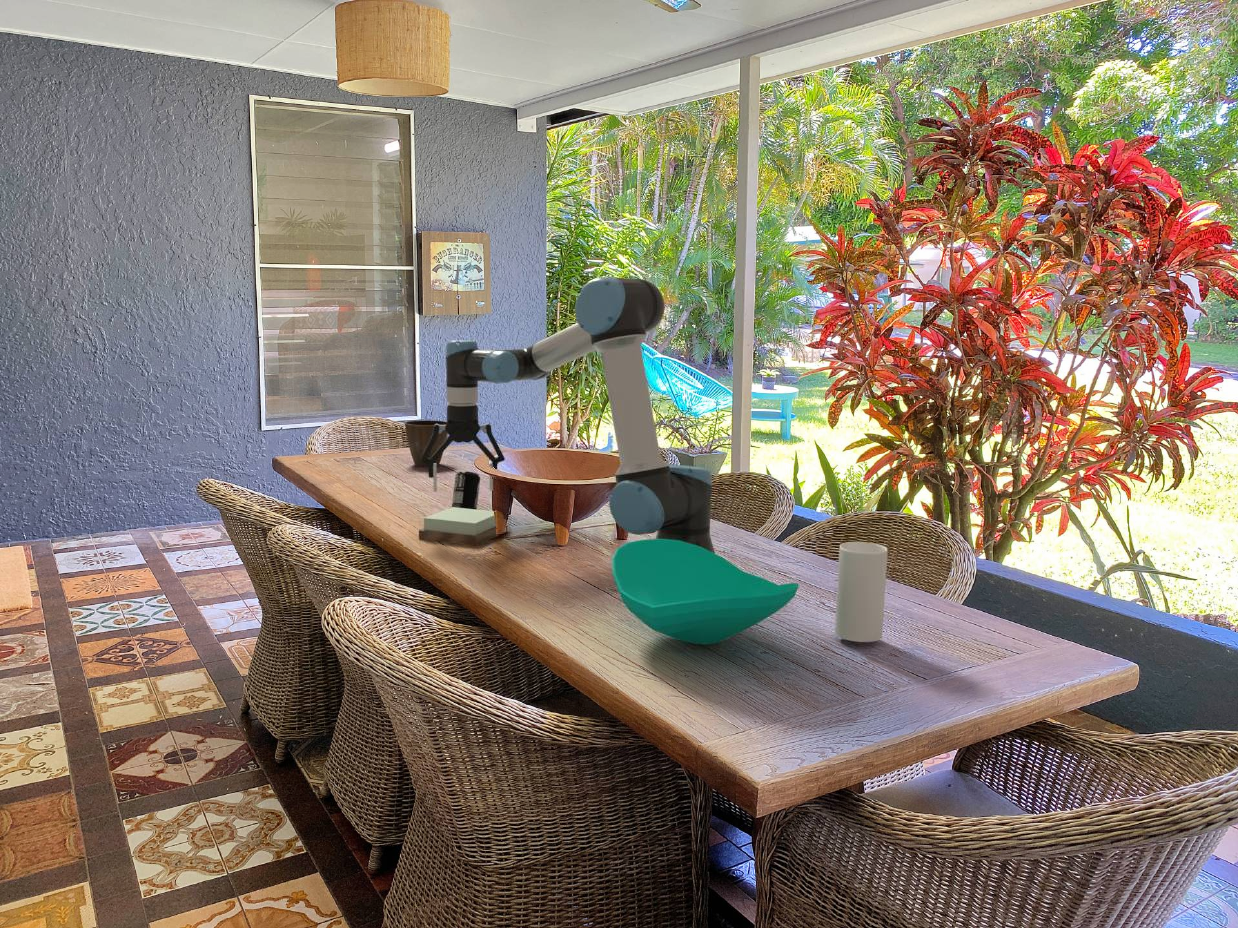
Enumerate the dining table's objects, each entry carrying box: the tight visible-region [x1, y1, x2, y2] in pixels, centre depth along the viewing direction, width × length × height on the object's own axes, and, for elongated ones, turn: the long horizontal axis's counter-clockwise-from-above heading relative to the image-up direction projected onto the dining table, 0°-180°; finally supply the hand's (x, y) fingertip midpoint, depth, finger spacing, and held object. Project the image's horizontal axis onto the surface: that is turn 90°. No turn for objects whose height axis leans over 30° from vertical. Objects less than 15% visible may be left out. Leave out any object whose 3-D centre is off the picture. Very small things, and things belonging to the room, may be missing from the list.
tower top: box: [423, 506, 496, 536], centre depth 242 cm, size 14×14×3 cm
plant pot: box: [404, 419, 449, 468], centre depth 338 cm, size 15×15×16 cm
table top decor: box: [611, 538, 799, 645], centre depth 171 cm, size 40×28×13 cm
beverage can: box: [451, 470, 481, 510], centre depth 259 cm, size 7×7×12 cm
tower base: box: [418, 525, 508, 547], centre depth 243 cm, size 16×16×3 cm
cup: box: [834, 541, 888, 643], centre depth 174 cm, size 8×8×16 cm
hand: (463, 490), depth 241 cm, fingers open, 13 cm apart
